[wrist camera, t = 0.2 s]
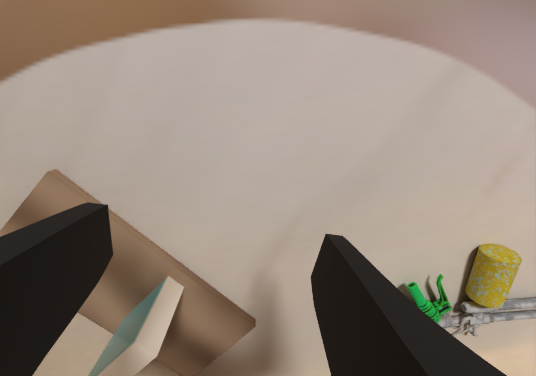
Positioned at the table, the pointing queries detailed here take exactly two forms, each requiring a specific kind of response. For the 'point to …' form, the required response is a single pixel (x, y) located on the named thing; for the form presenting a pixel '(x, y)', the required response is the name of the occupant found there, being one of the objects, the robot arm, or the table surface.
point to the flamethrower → (481, 292)
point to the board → (144, 283)
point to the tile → (140, 333)
